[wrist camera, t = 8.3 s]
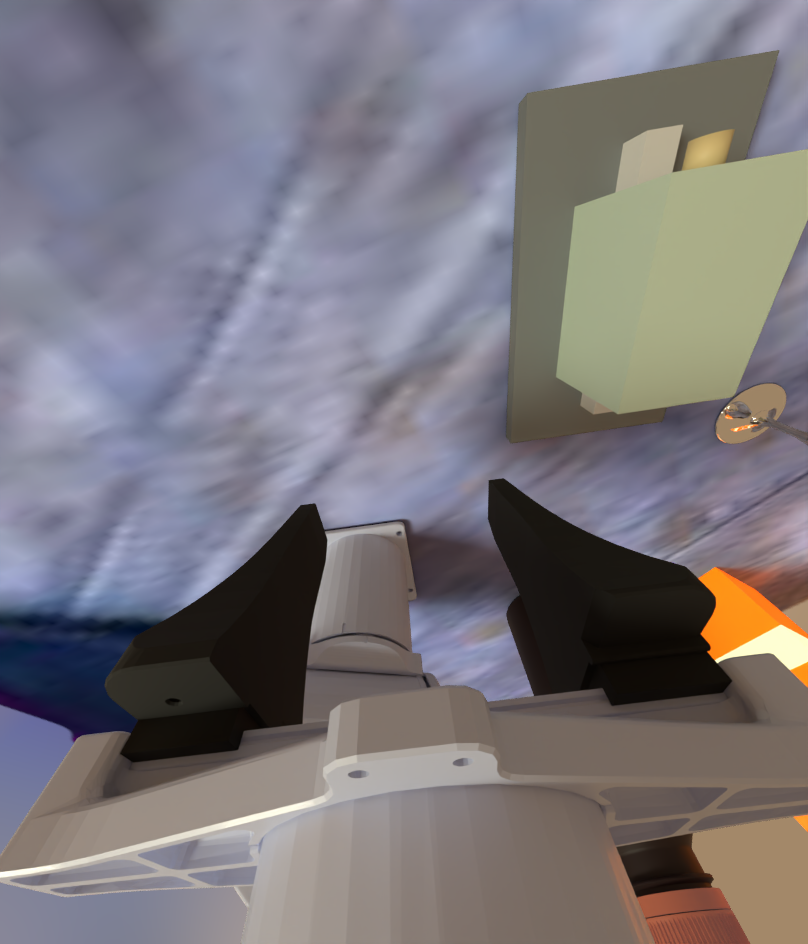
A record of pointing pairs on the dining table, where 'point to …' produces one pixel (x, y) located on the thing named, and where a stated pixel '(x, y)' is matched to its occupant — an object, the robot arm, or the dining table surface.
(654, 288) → the cabinet block
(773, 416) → the wineglass
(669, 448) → the dining table surface
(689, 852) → the bottle
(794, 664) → the orange juice
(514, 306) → the cleat board
